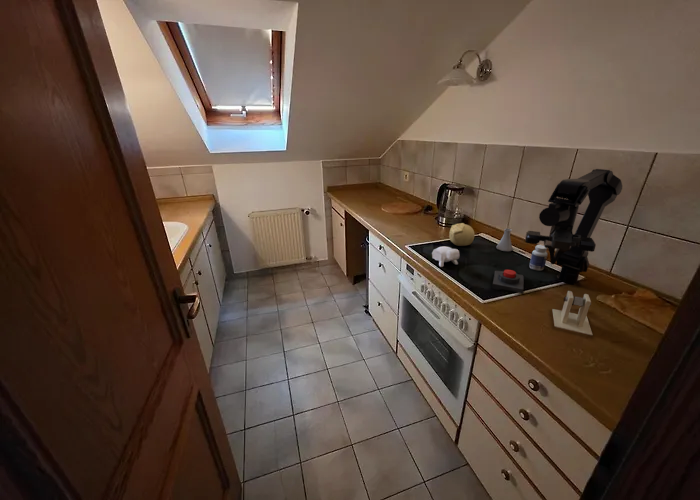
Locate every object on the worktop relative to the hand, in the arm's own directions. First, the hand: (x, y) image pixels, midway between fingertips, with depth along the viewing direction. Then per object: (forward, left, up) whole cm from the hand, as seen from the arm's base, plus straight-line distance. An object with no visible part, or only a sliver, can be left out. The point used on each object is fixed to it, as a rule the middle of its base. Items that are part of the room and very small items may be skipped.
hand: (552, 263), depth 102 cm
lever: (+12, +6, -8) cm, 16 cm away
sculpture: (-37, -35, -12) cm, 52 cm away
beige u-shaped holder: (+16, +6, -12) cm, 21 cm away
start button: (-2, -12, -8) cm, 15 cm away
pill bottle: (-22, -2, -12) cm, 25 cm away
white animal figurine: (-11, -37, -12) cm, 40 cm away
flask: (-39, -15, -12) cm, 44 cm away
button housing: (-2, -12, -12) cm, 17 cm away
